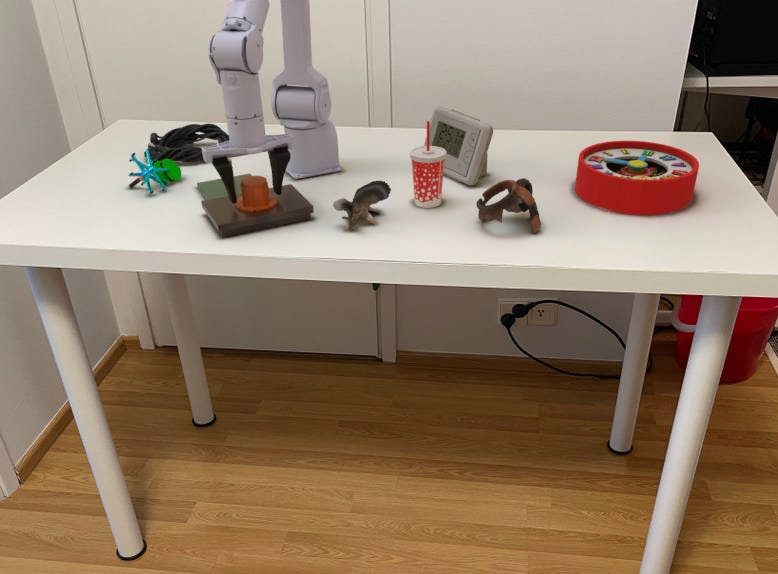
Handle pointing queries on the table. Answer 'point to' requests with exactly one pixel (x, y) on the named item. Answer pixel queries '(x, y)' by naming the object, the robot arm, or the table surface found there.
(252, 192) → the hat
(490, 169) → the table surface
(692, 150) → the table surface
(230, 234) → the stand
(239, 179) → the stand
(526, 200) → the brown broken ring
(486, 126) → the digital clock
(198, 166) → the table surface
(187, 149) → the cable
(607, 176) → the toy clock
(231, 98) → the robot arm
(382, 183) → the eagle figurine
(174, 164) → the stick construction toy
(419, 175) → the beverage cup
